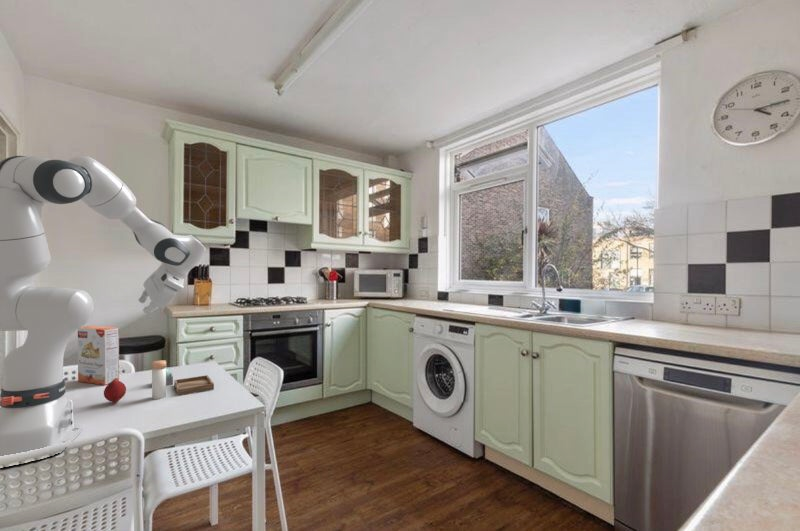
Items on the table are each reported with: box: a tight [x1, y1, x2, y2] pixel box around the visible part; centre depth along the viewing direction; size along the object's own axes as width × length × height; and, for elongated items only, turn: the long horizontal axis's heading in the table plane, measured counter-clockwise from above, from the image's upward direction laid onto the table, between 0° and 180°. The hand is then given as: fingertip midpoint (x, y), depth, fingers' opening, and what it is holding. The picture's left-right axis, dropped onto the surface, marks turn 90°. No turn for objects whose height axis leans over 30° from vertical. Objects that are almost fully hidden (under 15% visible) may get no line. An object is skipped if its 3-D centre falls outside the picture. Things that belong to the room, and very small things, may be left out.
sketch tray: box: [173, 374, 215, 396], centre depth 140 cm, size 13×11×2 cm
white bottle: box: [151, 359, 167, 400], centre depth 130 cm, size 4×4×12 cm
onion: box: [103, 378, 127, 404], centre depth 125 cm, size 6×6×8 cm
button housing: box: [166, 372, 174, 386], centre depth 144 cm, size 6×6×3 cm
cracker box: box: [77, 325, 120, 386], centre depth 147 cm, size 14×6×21 cm, turn 73°
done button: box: [166, 367, 171, 377], centre depth 144 cm, size 4×4×4 cm
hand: (142, 307), depth 135 cm, fingers open, 8 cm apart
